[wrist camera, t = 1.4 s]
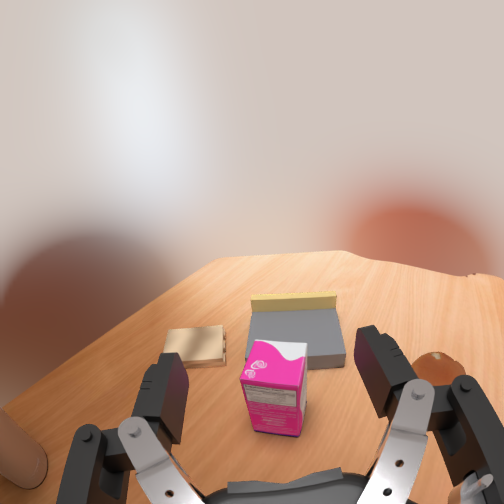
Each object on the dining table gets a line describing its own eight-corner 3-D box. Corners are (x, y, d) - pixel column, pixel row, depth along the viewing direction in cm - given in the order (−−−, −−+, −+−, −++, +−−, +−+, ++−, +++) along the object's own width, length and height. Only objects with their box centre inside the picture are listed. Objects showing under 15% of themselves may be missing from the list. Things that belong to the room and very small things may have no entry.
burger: (412, 429, 24) (425, 410, 22) (389, 378, 32) (397, 356, 30) (468, 404, 24) (482, 384, 22) (442, 361, 32) (452, 340, 30)
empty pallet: (163, 370, 39) (159, 362, 38) (170, 338, 46) (167, 329, 45) (226, 366, 39) (223, 358, 38) (225, 333, 46) (223, 324, 45)
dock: (247, 371, 38) (242, 345, 35) (254, 319, 48) (251, 294, 46) (343, 367, 36) (348, 340, 33) (333, 316, 46) (335, 290, 44)
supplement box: (263, 396, 33) (255, 336, 28) (307, 401, 31) (311, 341, 26) (251, 431, 28) (238, 377, 23) (299, 438, 26) (303, 386, 22)
